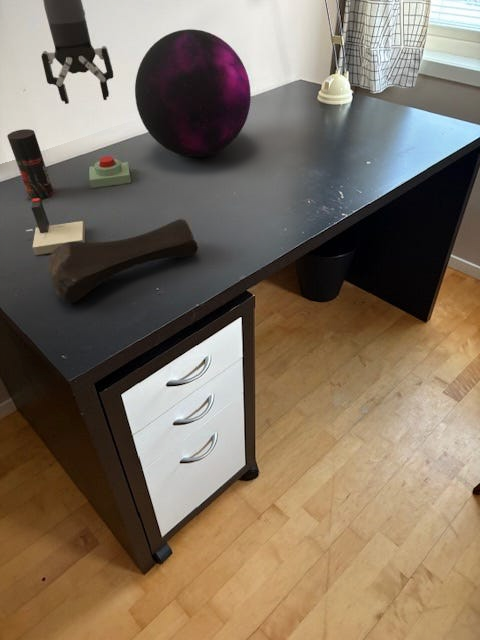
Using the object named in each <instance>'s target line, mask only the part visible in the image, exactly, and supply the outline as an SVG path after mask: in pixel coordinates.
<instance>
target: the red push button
mask: <svg viewBox="0 0 480 640" xmlns="http://www.w3.org/2000/svg"><path fill="white" fill-rule="evenodd" d="M114 159H115V158H114V157H113V156H111V155H105V156H102V157H100V158H99V160H98V161H100V166H101V167H104V168H107V167H112V166H114V165H115V162H114Z"/></svg>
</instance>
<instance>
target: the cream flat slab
mask: <svg viewBox="0 0 480 640" xmlns="http://www.w3.org/2000/svg"><path fill="white" fill-rule="evenodd" d="M33 231H34V229H31V228H30V229H26V230H25V232H26V233H27V232H33ZM67 242H86V226H85V223H84V220H80V221H73V222H66V223H59V224H51V225H49V229H48V232H44V233H40V230H39V228H38V227H35V231H34V237H33V243H32V250H33V253H34V255H35V256H41V255H46V254H47V255H48V254H52V253H53V251H54V250H55V249H56V248H57V247H59V246H61V245H62V244H64V243H67Z"/></svg>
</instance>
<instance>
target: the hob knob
mask: <svg viewBox="0 0 480 640" xmlns="http://www.w3.org/2000/svg"><path fill="white" fill-rule="evenodd" d="M30 208H31V211H32V213H33V217H34V220H35V222H36V225H37V228H39V230H40V233H44V232H48V229H49V226H50V222H49V219H48V216H47V213H46V211H45V206H44V205H43V200H41V199H40V198H36V199H33V200H32V201H31V207H30Z"/></svg>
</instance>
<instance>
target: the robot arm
mask: <svg viewBox="0 0 480 640" xmlns="http://www.w3.org/2000/svg"><path fill="white" fill-rule="evenodd" d="M42 2H43V7H44V12H45V15H46V19H47V23H48V27H49V31H50V34H51V38H52V42H53V45H54V52H48V51H46V50H44V51H42V53H41V57H40V58H41V62H42V66H43V70H44V75H45V79H46V83H47V84H48V85H53V86H56V87H57V90H58V94H59V96H60V97H59V98H60V100H61V102H64V105H68V104H70V100H69V96H68V91H67V88H66V84H65V83H64V81H65V79H66V77H67V75H68V73H70V74H73V75H74V74H77V73H87V72H91V74H92V75H93V76H95V77H96V78H97V79H98V80H99V85H100V90H101V93H102V94H101V95H102V99H103V101H107V100H108V99H107V98H109V96H110V95H109V94H110V91H109V87H108V81H109V80H112V79H113V78H114V70H113V66H112V63H111V57H110V54H109V51H108V50H109V49H108V48H107V46H105V45H103V46H102V47H99V48H94V47H93V44H92V42H91V37H90V33H89V28H88V24H87V19H86V11H85V9H84V6H83V1H82V0H42ZM96 55H97V56H98V57H99V59H100V60H103V63H104V67H105V72H103V71H102V70H101V69H100V67H98V65H97V64H95V62H94V60H95V57H96ZM54 59H55V60H56V61H57V62H58V63H59V64H60V65H61V69H60V71H59V73H58V77H56V76H54V74H53V69H52V64H53V63H54Z"/></svg>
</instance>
